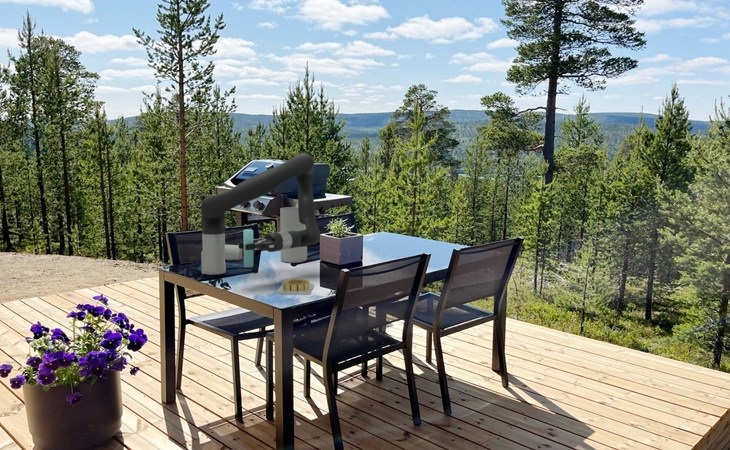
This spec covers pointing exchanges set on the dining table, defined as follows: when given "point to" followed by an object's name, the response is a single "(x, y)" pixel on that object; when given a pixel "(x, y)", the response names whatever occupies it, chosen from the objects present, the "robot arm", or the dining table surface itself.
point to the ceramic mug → (233, 253)
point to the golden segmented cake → (296, 287)
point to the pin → (248, 253)
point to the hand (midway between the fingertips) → (242, 246)
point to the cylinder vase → (291, 223)
